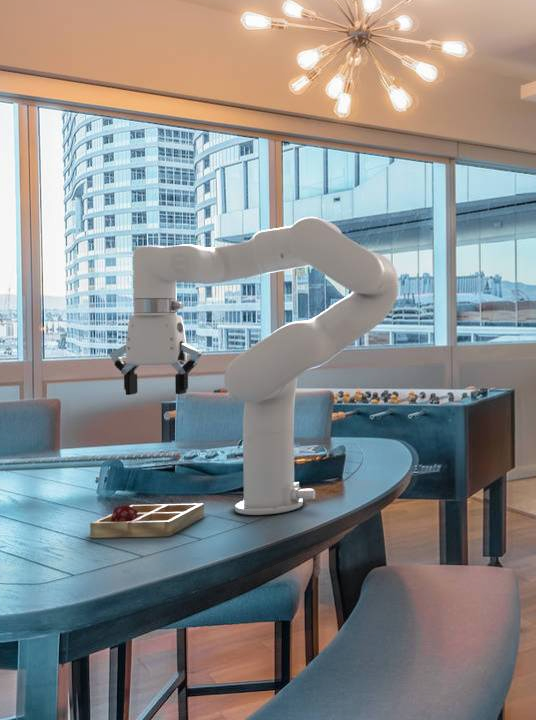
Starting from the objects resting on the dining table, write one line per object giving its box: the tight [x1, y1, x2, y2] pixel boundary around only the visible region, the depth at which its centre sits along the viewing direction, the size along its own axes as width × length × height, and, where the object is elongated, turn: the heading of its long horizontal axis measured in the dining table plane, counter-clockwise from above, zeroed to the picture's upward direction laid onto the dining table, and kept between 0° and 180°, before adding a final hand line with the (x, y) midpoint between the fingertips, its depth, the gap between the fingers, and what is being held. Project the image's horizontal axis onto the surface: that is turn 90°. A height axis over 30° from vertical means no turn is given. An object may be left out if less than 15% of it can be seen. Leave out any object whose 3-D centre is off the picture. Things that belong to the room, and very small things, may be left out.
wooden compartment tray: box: [89, 503, 205, 539], centre depth 148 cm, size 14×14×3 cm
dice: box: [111, 504, 138, 522], centre depth 145 cm, size 4×4×4 cm
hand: (156, 393), depth 160 cm, fingers open, 9 cm apart
